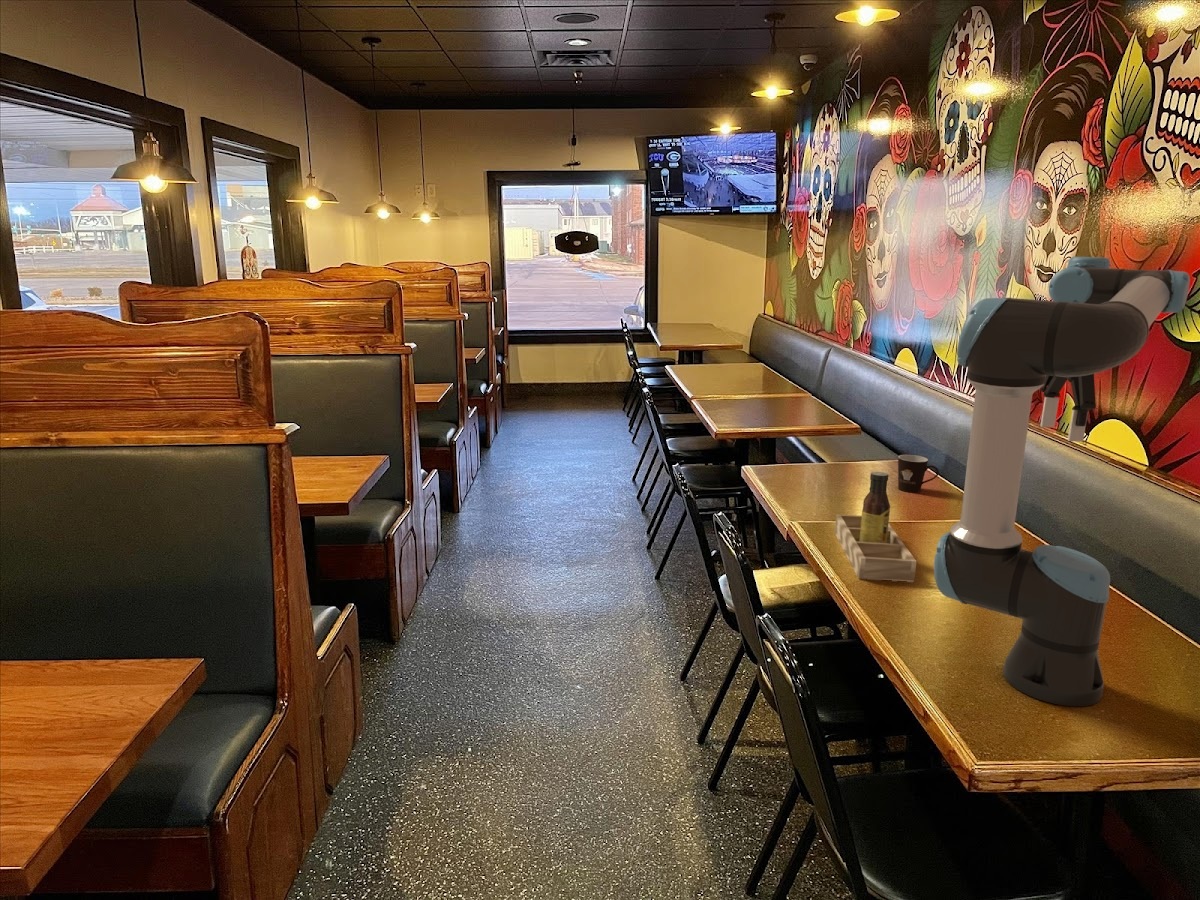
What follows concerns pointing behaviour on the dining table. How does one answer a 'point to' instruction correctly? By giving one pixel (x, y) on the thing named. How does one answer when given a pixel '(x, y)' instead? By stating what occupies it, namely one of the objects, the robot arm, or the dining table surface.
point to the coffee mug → (912, 472)
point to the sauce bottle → (875, 510)
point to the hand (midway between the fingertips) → (1060, 433)
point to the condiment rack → (874, 552)
